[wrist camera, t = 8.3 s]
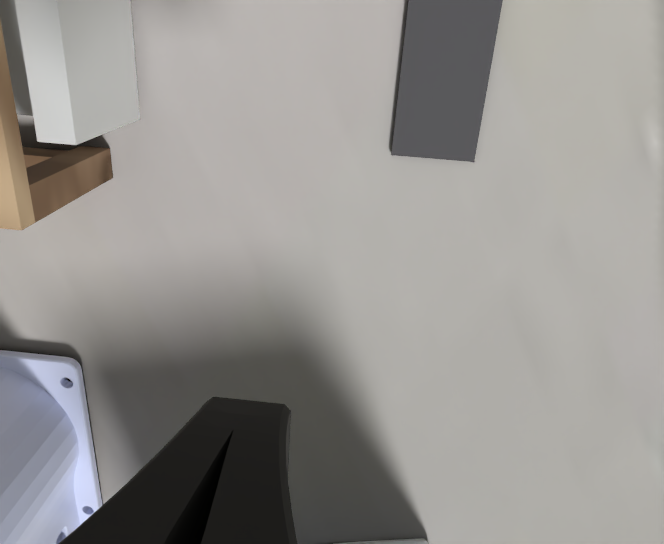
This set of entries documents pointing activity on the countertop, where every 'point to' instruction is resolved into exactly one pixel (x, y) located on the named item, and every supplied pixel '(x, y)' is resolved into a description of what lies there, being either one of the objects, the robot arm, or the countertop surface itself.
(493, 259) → the countertop surface
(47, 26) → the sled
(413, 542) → the tea box
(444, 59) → the pad
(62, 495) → the robot arm
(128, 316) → the countertop surface
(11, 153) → the tunnel
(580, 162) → the countertop surface
